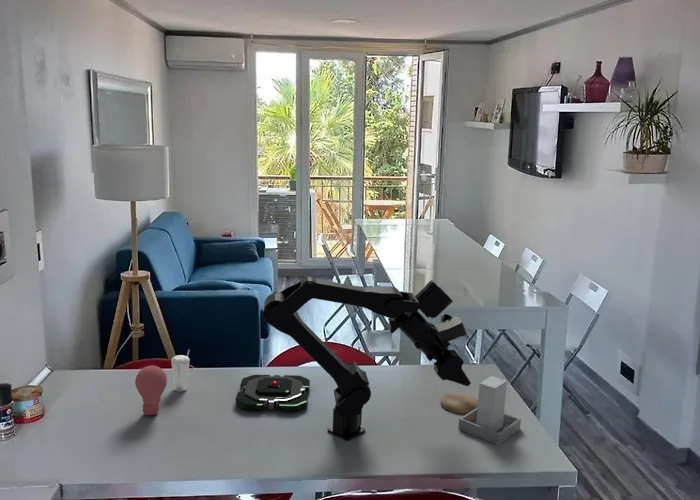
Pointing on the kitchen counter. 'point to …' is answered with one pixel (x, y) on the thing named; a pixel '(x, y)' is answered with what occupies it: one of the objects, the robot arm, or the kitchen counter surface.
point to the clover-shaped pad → (273, 392)
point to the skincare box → (491, 403)
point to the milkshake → (180, 372)
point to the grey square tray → (486, 433)
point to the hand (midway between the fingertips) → (463, 376)
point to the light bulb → (151, 387)
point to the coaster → (459, 403)
